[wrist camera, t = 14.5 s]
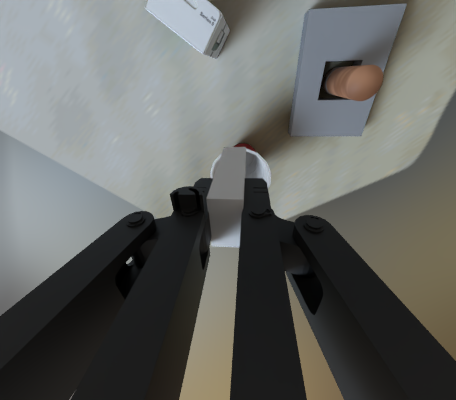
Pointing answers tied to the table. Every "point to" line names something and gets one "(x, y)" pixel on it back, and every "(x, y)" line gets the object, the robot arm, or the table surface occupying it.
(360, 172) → the table surface
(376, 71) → the peg
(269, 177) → the plastic cup
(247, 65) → the table surface
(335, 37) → the board
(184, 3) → the ink box
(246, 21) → the table surface
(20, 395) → the robot arm
